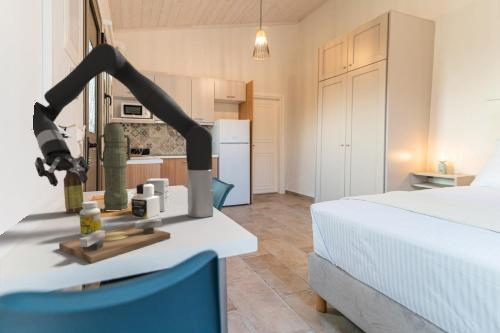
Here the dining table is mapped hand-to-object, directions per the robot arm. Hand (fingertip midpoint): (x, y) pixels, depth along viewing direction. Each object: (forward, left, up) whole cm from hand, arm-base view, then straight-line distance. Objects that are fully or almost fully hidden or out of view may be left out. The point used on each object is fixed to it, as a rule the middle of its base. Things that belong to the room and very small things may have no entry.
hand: (71, 183), depth 93 cm
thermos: (-6, -27, -15) cm, 31 cm away
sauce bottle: (+9, -25, -15) cm, 30 cm away
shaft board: (-18, +18, -14) cm, 29 cm away
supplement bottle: (-8, +8, -15) cm, 18 cm away
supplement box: (-23, -23, -15) cm, 36 cm away
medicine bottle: (-20, -13, -15) cm, 28 cm away
